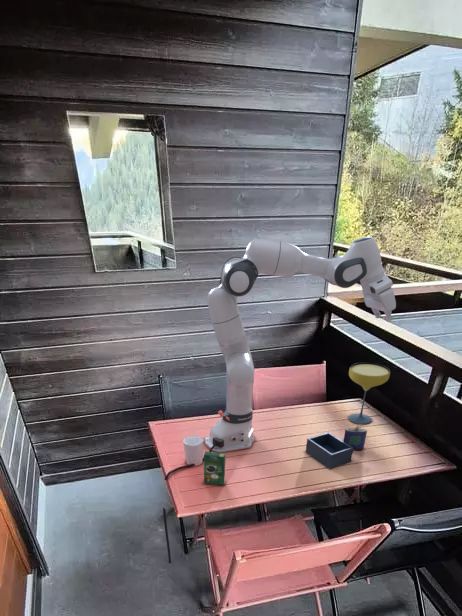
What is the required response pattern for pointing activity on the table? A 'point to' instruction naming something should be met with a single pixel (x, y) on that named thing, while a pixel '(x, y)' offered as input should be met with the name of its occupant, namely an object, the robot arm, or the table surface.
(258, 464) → the table surface
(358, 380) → the cocktail glass
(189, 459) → the white cup
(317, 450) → the tub
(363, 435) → the flask
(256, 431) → the table surface
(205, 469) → the coffee box
